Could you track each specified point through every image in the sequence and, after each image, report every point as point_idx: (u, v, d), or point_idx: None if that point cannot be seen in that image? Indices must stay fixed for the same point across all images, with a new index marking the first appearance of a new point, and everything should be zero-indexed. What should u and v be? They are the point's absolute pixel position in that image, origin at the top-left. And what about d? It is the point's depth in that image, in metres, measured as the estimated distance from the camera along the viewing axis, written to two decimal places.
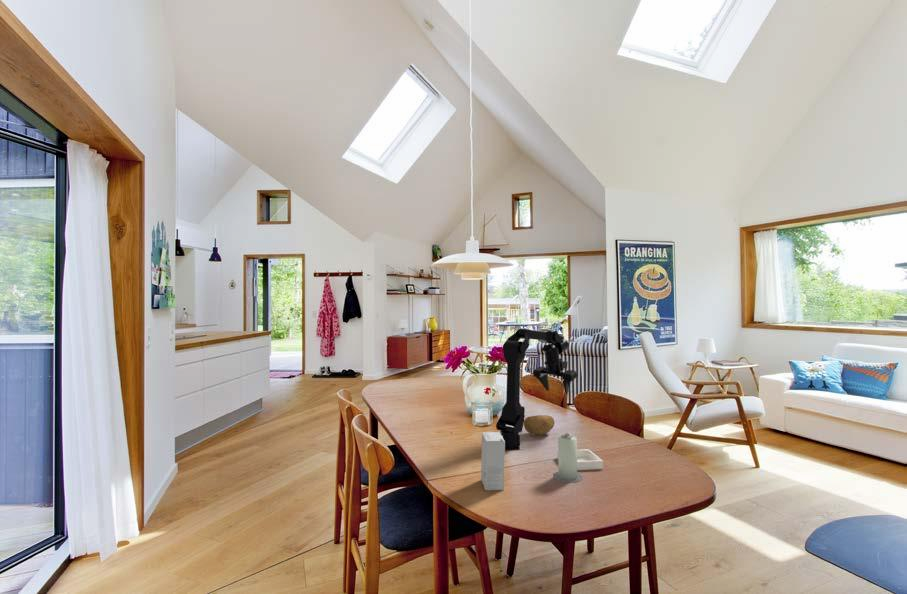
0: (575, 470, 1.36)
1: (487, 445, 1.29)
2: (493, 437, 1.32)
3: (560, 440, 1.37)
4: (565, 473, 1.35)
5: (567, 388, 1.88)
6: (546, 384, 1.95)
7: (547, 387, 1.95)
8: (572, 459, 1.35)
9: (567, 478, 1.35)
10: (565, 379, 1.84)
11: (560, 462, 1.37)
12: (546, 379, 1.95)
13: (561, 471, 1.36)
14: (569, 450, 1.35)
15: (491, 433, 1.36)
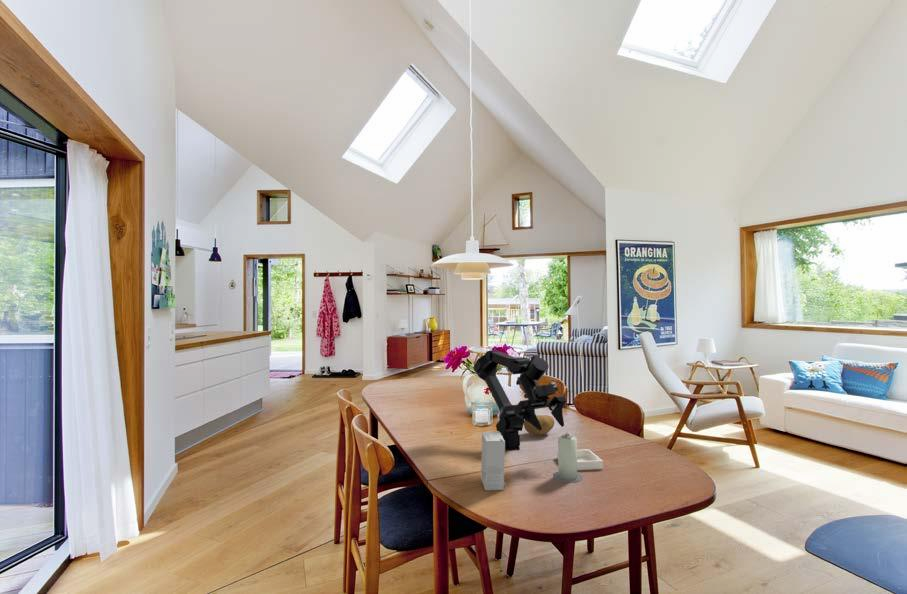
0: (575, 470, 1.36)
1: (487, 445, 1.29)
2: (493, 437, 1.32)
3: (560, 440, 1.37)
4: (565, 473, 1.35)
5: (534, 423, 1.45)
6: (558, 418, 1.50)
7: (560, 422, 1.49)
8: (572, 459, 1.35)
9: (567, 478, 1.35)
10: None
11: (560, 462, 1.37)
12: (557, 412, 1.51)
13: (561, 471, 1.36)
14: (569, 450, 1.35)
15: (491, 433, 1.36)
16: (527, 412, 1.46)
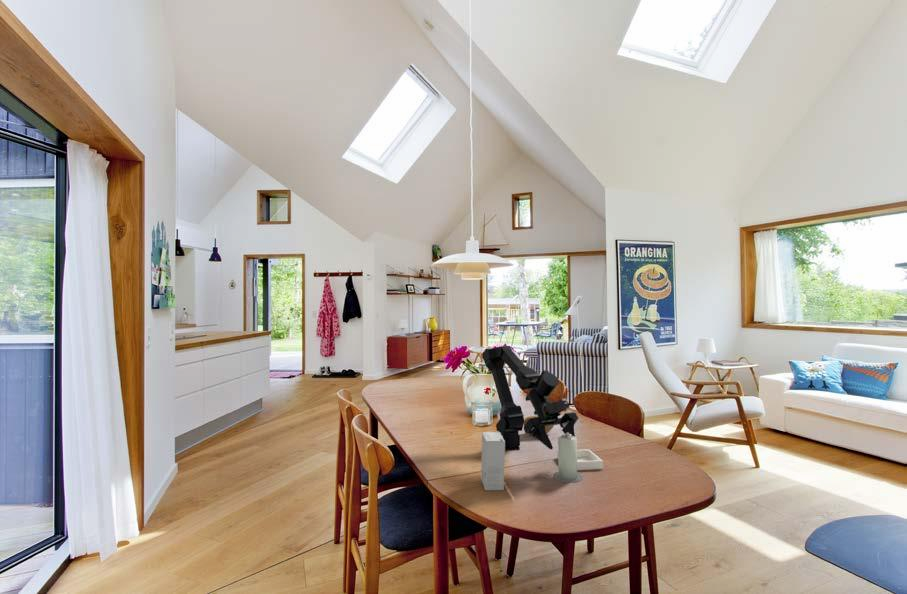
0: (575, 470, 1.36)
1: (487, 445, 1.29)
2: (493, 437, 1.32)
3: (560, 440, 1.37)
4: (565, 473, 1.35)
5: (544, 442, 1.39)
6: None
7: None
8: (572, 459, 1.35)
9: (567, 478, 1.35)
10: None
11: (560, 462, 1.37)
12: (568, 429, 1.45)
13: (561, 471, 1.36)
14: (569, 450, 1.35)
15: (491, 433, 1.36)
16: (537, 430, 1.40)
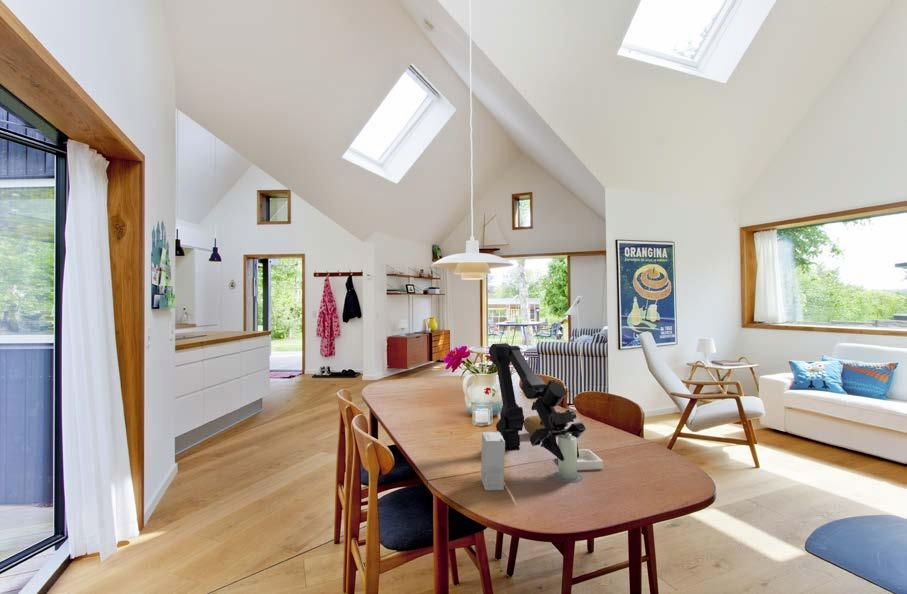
0: (575, 470, 1.36)
1: (487, 445, 1.29)
2: (493, 437, 1.32)
3: (560, 440, 1.37)
4: (565, 473, 1.35)
5: (555, 453, 1.37)
6: None
7: None
8: (572, 459, 1.35)
9: (567, 478, 1.35)
10: None
11: (560, 462, 1.37)
12: None
13: (561, 471, 1.36)
14: (569, 450, 1.35)
15: (491, 433, 1.36)
16: (548, 441, 1.38)
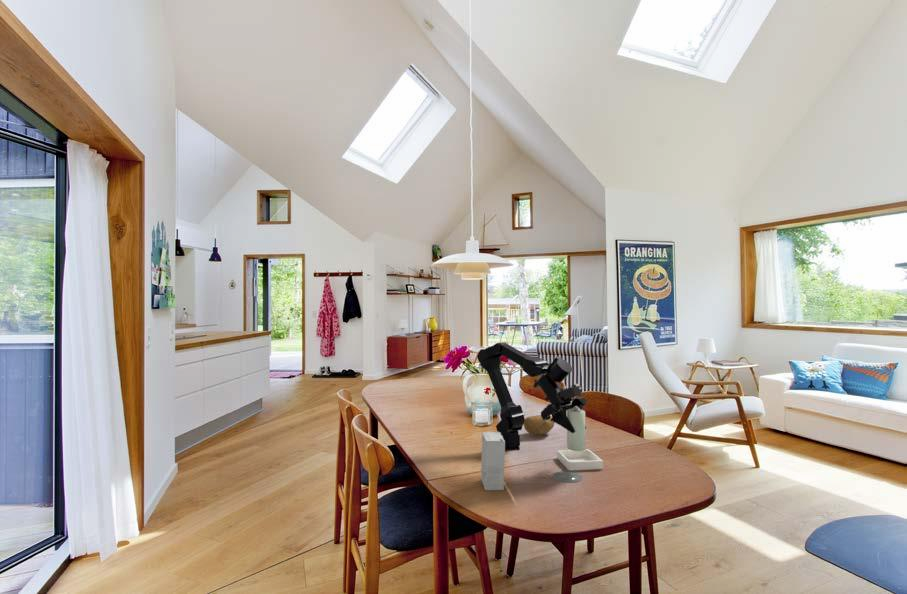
0: (584, 441, 1.43)
1: (487, 445, 1.29)
2: (493, 437, 1.32)
3: (571, 413, 1.42)
4: (576, 444, 1.41)
5: (566, 426, 1.42)
6: None
7: None
8: (582, 430, 1.42)
9: (577, 449, 1.41)
10: None
11: (570, 434, 1.43)
12: None
13: (571, 443, 1.42)
14: (579, 422, 1.41)
15: (491, 433, 1.36)
16: (559, 415, 1.43)
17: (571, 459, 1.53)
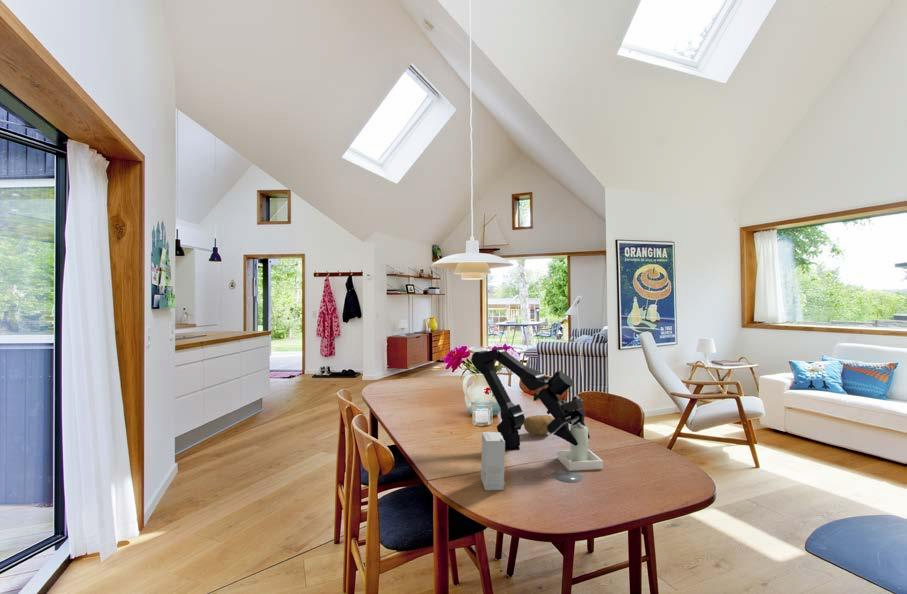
0: (587, 456, 1.48)
1: (487, 445, 1.29)
2: (493, 437, 1.32)
3: (575, 430, 1.47)
4: (581, 460, 1.46)
5: (569, 439, 1.46)
6: None
7: None
8: (586, 446, 1.47)
9: None
10: None
11: (575, 450, 1.47)
12: None
13: (576, 459, 1.47)
14: (584, 438, 1.47)
15: (491, 433, 1.36)
16: (561, 428, 1.46)
17: None
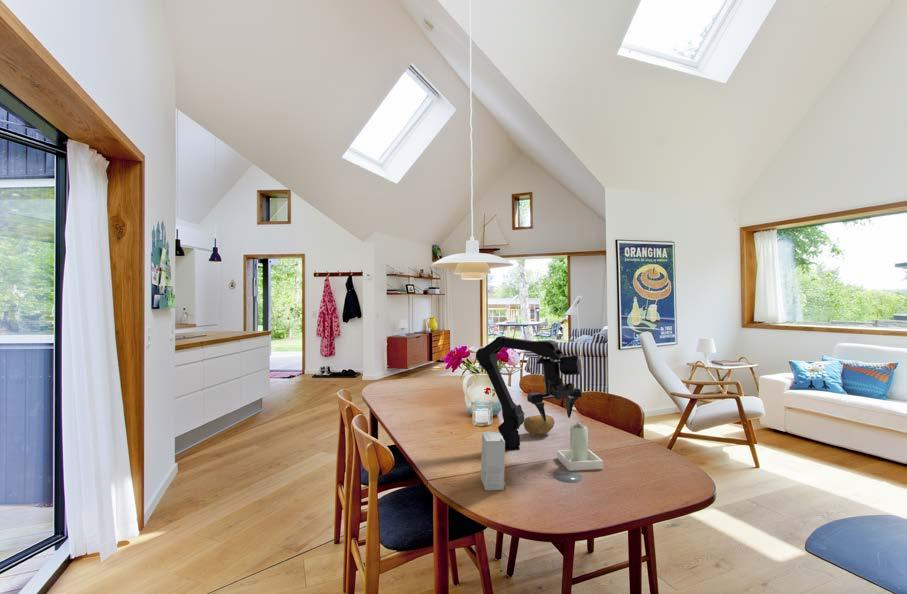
0: (587, 456, 1.48)
1: (487, 445, 1.29)
2: (493, 437, 1.32)
3: (575, 430, 1.47)
4: (581, 460, 1.46)
5: (540, 413, 1.58)
6: (567, 408, 1.60)
7: (567, 412, 1.60)
8: (586, 446, 1.47)
9: None
10: None
11: (575, 450, 1.47)
12: (568, 403, 1.60)
13: (576, 459, 1.47)
14: (583, 438, 1.47)
15: (491, 433, 1.36)
16: None
17: None
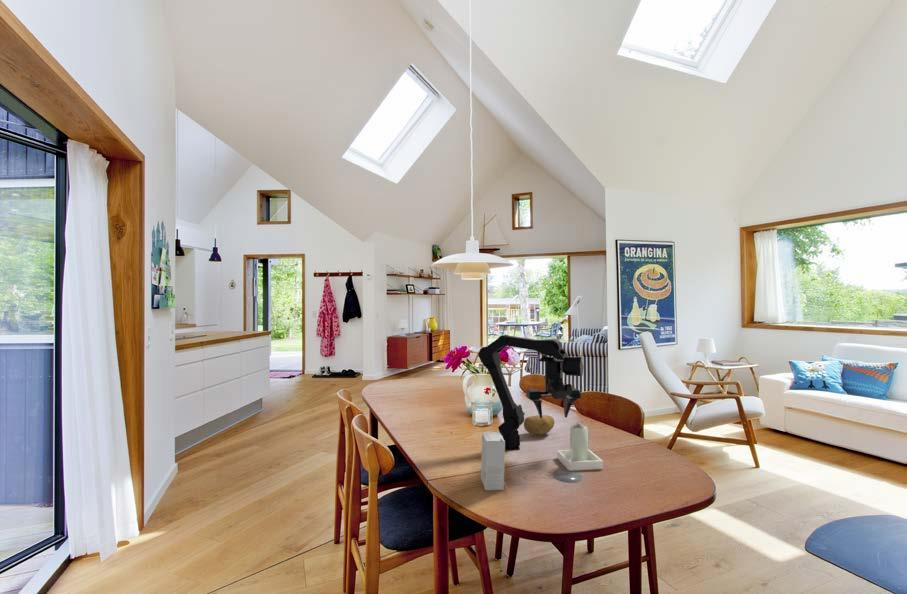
0: (587, 456, 1.48)
1: (487, 445, 1.29)
2: (493, 437, 1.32)
3: (575, 430, 1.47)
4: (581, 460, 1.46)
5: (537, 410, 1.60)
6: (565, 408, 1.61)
7: (565, 412, 1.61)
8: (586, 446, 1.47)
9: None
10: None
11: (575, 450, 1.47)
12: (566, 403, 1.60)
13: (576, 459, 1.47)
14: (583, 438, 1.47)
15: (491, 433, 1.36)
16: None
17: None
